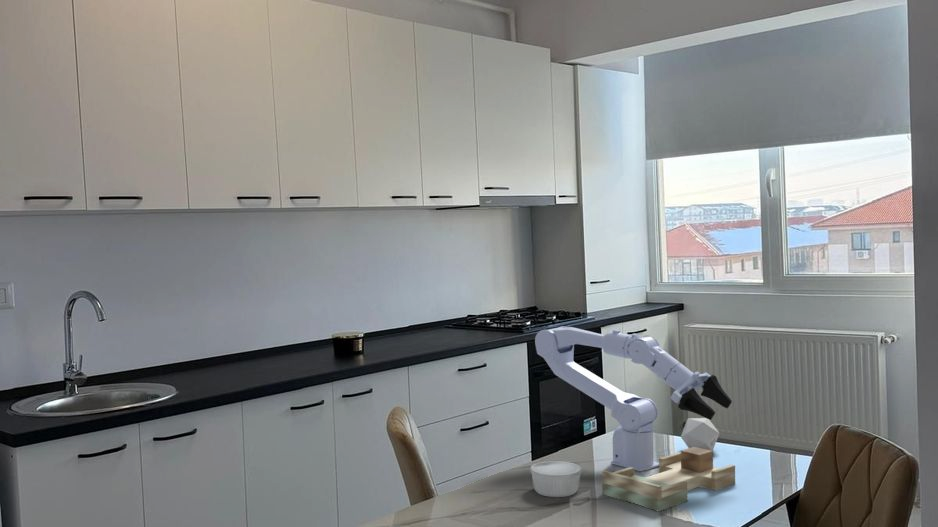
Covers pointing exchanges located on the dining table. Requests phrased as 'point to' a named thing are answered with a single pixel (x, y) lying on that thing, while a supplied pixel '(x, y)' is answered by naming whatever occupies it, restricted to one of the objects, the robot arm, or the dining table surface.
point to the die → (700, 433)
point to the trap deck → (664, 483)
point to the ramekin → (555, 478)
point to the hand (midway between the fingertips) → (721, 410)
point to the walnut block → (697, 459)
